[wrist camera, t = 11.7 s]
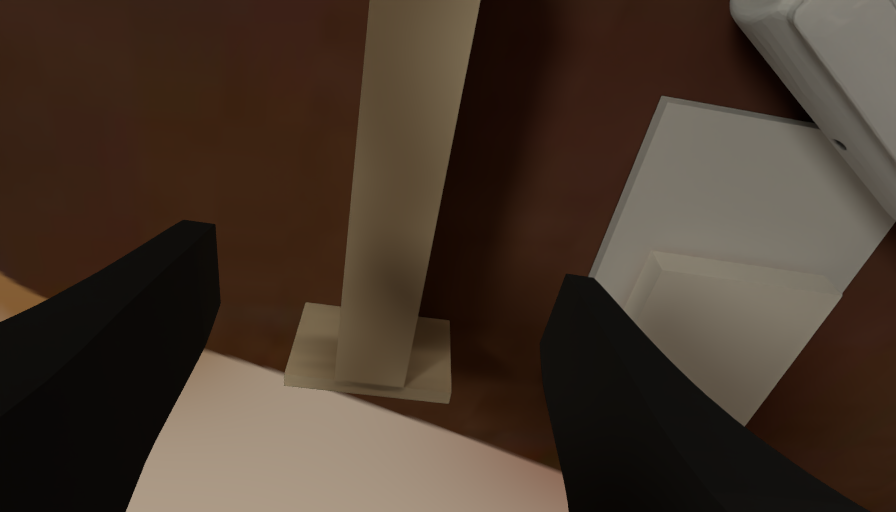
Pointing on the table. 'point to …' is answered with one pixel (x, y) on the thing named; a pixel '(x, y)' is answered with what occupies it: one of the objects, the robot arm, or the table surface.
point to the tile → (729, 322)
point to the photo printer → (837, 74)
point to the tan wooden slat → (393, 211)
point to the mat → (739, 198)
